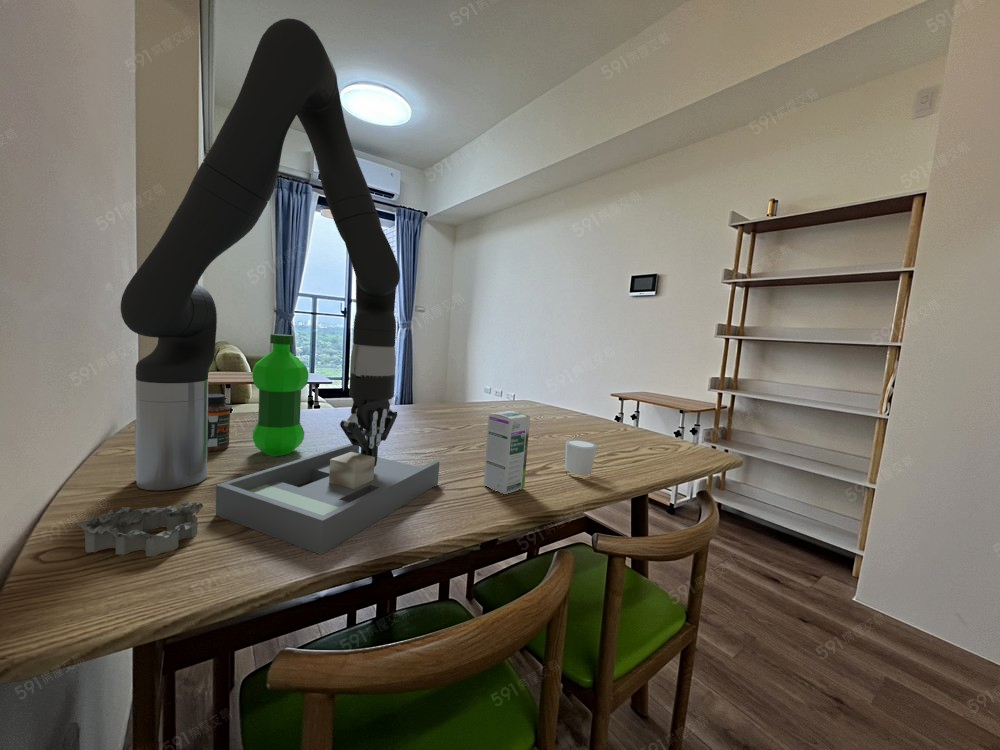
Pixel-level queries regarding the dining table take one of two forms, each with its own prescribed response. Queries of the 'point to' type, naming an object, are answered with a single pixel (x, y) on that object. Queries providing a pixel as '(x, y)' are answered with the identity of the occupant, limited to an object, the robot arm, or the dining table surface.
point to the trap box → (319, 499)
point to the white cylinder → (579, 456)
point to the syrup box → (506, 451)
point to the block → (351, 470)
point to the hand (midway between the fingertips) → (368, 466)
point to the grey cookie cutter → (128, 525)
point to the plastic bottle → (279, 398)
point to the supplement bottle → (218, 422)
